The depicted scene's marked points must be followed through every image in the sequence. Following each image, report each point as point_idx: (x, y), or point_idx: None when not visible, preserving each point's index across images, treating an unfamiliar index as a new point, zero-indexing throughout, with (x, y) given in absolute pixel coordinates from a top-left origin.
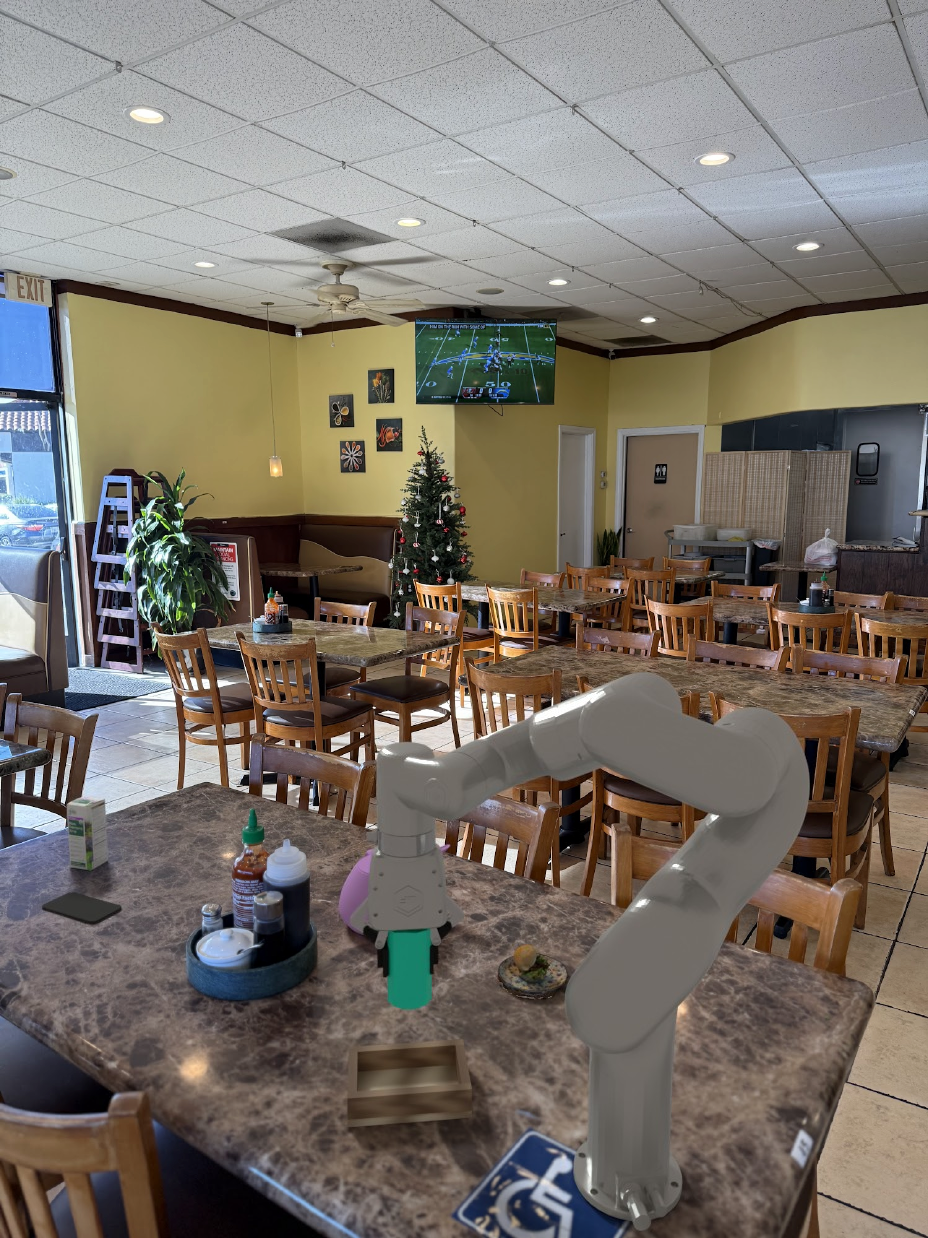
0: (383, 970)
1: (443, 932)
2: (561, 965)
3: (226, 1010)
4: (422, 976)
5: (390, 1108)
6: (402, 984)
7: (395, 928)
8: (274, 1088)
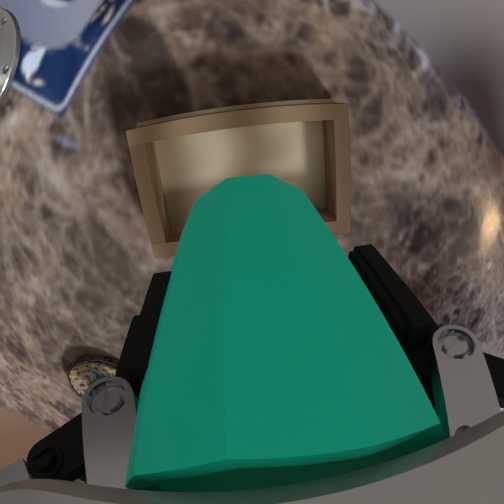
0: (381, 258)
1: (70, 441)
2: (81, 395)
3: (456, 314)
4: (196, 239)
5: (270, 106)
6: (288, 208)
7: (470, 460)
8: (426, 186)
